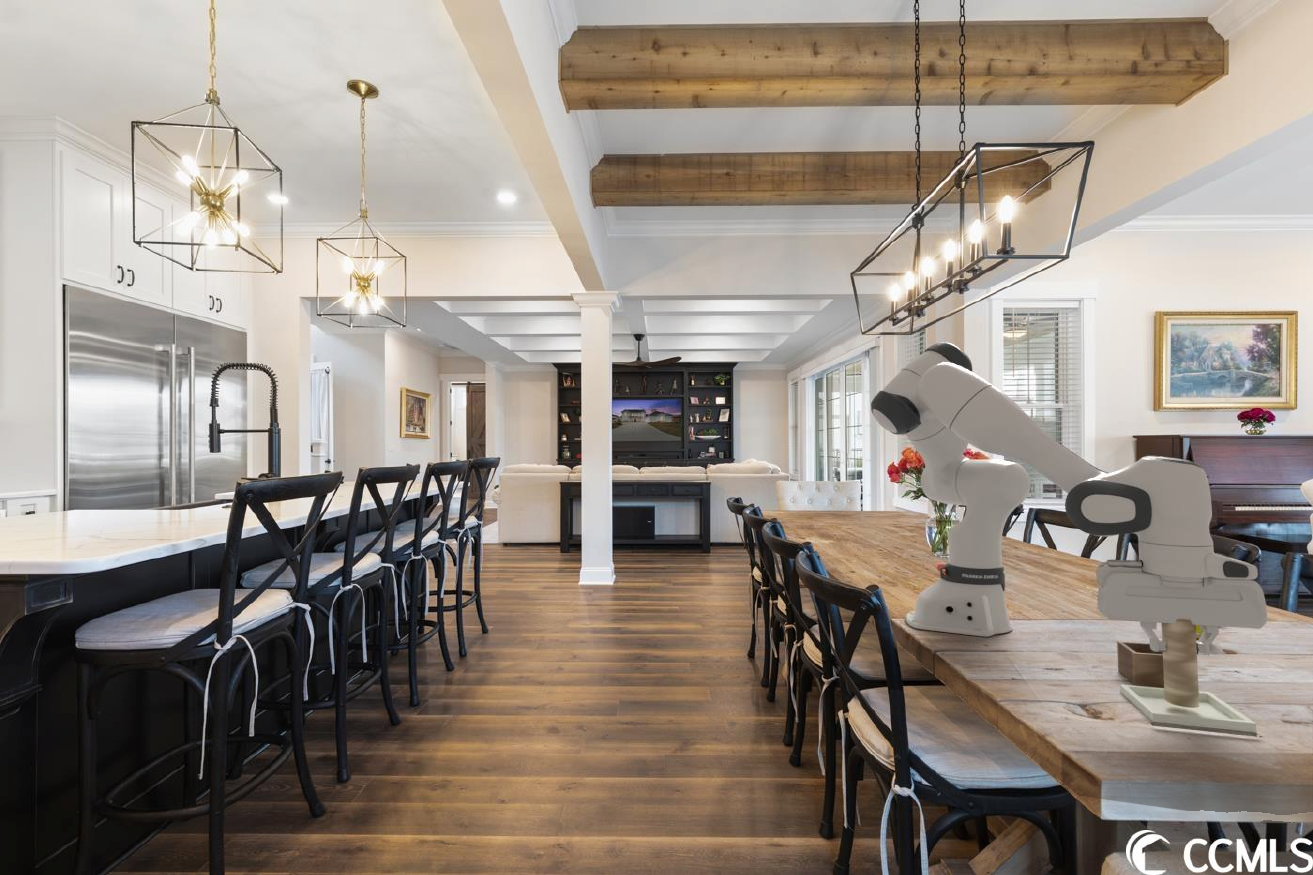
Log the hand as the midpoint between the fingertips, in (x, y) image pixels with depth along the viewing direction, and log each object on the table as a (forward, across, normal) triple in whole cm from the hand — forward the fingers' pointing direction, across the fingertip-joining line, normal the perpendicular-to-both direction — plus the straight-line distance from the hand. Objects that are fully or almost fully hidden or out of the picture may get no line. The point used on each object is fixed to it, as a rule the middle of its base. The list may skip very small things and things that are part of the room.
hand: (1179, 652), depth 93 cm
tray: (+9, 0, 0) cm, 9 cm away
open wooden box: (+9, +1, +13) cm, 16 cm away
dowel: (+8, 0, 0) cm, 8 cm away
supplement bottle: (+10, +20, +45) cm, 51 cm away
